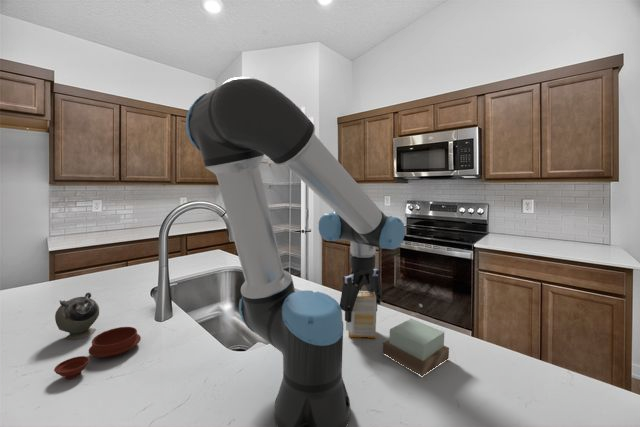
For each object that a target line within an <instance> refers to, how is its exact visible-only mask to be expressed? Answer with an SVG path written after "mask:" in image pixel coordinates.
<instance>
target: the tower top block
mask: <svg viewBox="0 0 640 427" xmlns="http://www.w3.org/2000/svg"><path fill="white" fill-rule="evenodd" d="M388 340H389V343H390V344H391V345H393V346H395V347H397V348H399V349H401V350H403V351H405V352H407V353H409V354H411V355H413V356H415V357H416V358H418V359H420V360H422V361H424V360H425V359H426V358H428V357H429V356H431V355H432V354H434V353H435V352H437V351H438V350H439V349H441V348H442V347H444V346H445V332H444V331H443V330H440V329H438V328H435V327H433V326H430V325H428V324H426V323H424V322H421V321H418V320H417V319H416V320H415V318H414V319H413V318H410V319H407V320H406V321H403V322H401V323H399V324H398V325H396V326H393V327H391V328H390V329H389V339H388Z"/></svg>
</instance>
